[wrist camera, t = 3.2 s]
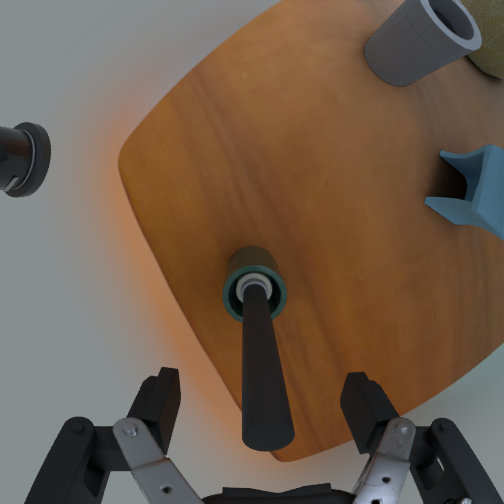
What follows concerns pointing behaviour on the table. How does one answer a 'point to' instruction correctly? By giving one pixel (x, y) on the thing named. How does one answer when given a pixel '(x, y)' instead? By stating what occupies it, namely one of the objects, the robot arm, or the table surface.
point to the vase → (488, 35)
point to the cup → (421, 40)
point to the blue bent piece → (476, 190)
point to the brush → (262, 370)
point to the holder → (247, 262)
